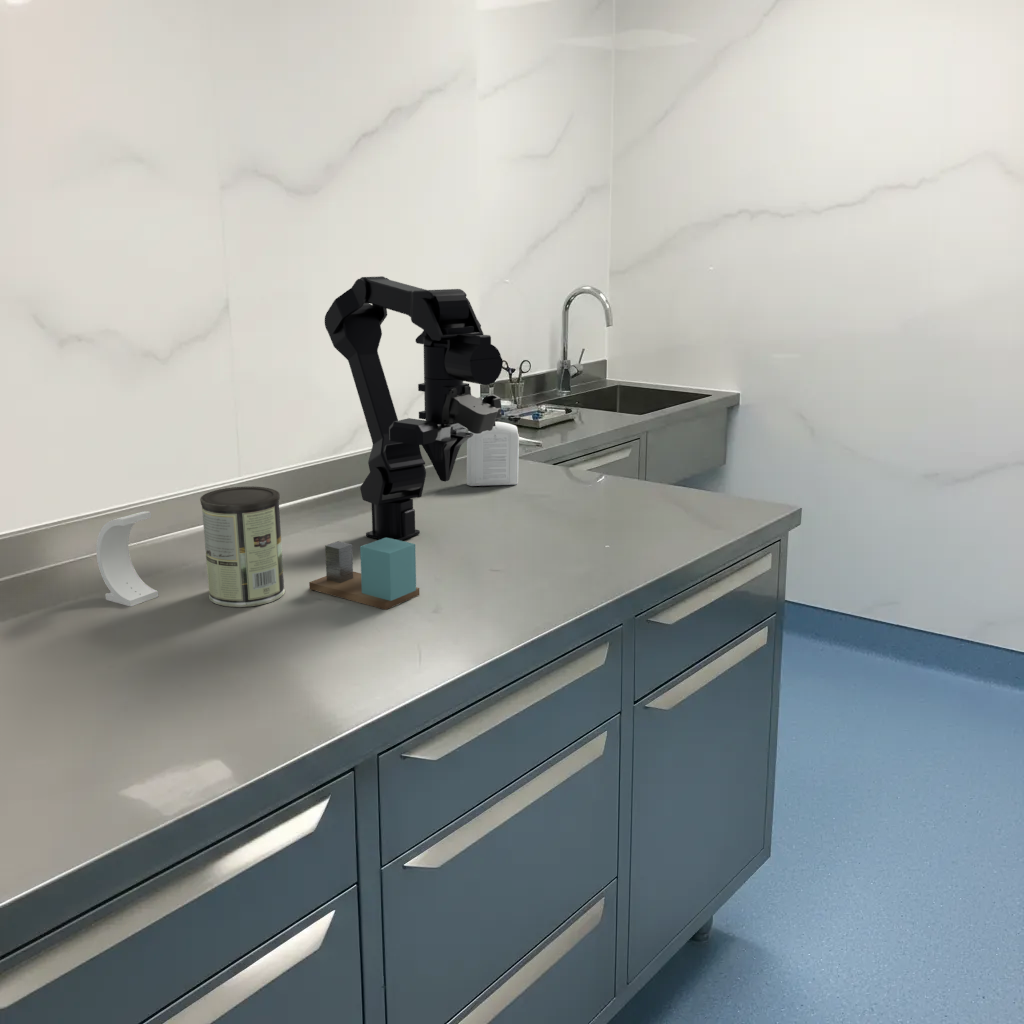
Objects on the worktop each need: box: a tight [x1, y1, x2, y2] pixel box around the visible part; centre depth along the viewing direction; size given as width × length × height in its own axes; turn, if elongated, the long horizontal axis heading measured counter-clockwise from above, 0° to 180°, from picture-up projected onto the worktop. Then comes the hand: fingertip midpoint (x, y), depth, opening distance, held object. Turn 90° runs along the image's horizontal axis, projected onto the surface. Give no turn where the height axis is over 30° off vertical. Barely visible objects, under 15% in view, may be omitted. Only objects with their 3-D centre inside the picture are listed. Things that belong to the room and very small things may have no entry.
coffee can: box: [199, 486, 286, 608], centre depth 142 cm, size 10×10×14 cm
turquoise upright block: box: [359, 537, 417, 601], centre depth 141 cm, size 5×5×7 cm
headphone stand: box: [95, 510, 159, 608], centre depth 141 cm, size 5×6×12 cm
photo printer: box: [466, 421, 520, 487], centre depth 203 cm, size 10×4×12 cm, turn 102°
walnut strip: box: [308, 571, 420, 611], centre depth 145 cm, size 14×7×1 cm, turn 56°
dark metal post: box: [324, 540, 354, 583], centre depth 146 cm, size 3×3×5 cm
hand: (444, 480), depth 157 cm, fingers closed
